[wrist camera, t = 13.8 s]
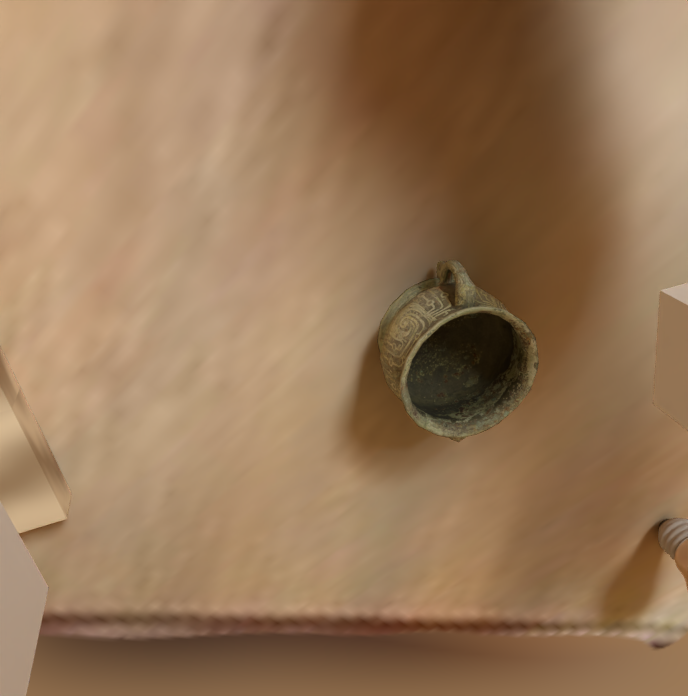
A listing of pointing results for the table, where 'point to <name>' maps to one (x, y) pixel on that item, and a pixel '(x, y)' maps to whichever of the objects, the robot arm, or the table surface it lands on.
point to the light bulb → (676, 542)
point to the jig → (27, 462)
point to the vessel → (456, 355)
